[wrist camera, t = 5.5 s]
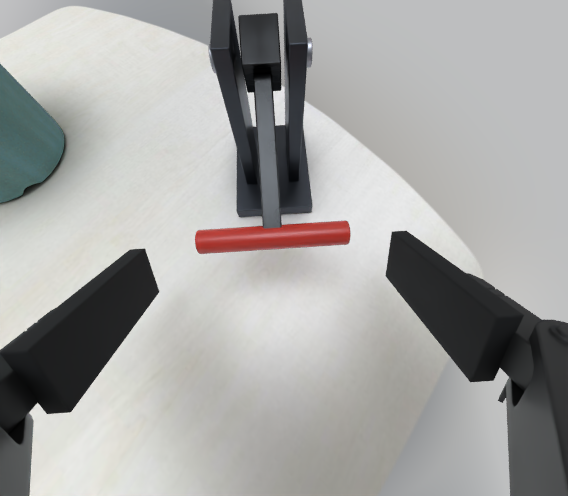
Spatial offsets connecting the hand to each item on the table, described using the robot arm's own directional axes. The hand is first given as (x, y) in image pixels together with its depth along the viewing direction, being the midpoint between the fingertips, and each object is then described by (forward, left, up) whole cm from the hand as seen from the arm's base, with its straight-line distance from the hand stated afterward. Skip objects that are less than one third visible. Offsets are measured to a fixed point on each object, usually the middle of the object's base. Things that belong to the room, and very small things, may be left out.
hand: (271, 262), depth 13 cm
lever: (+3, -7, 0) cm, 8 cm away
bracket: (+5, -11, -8) cm, 15 cm away
